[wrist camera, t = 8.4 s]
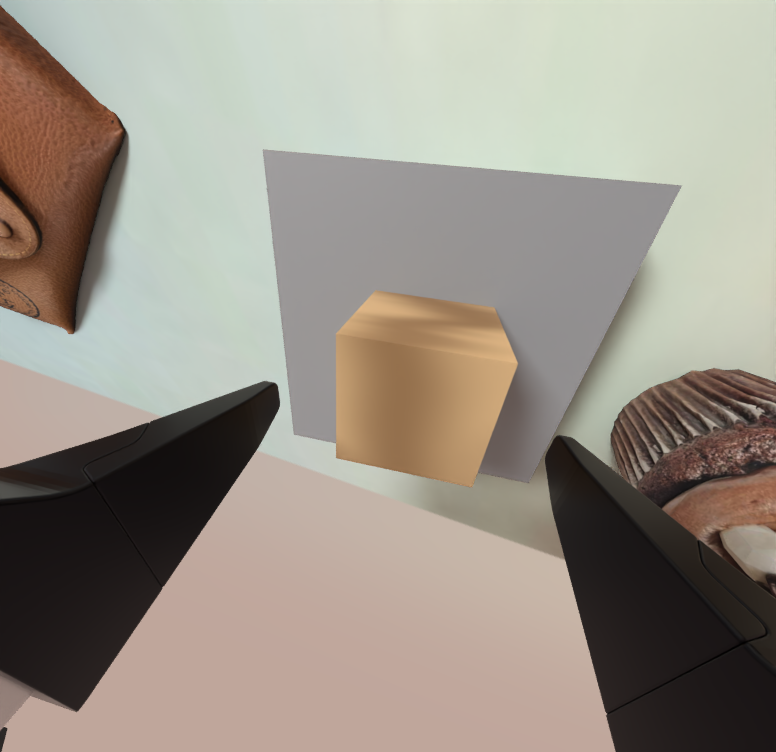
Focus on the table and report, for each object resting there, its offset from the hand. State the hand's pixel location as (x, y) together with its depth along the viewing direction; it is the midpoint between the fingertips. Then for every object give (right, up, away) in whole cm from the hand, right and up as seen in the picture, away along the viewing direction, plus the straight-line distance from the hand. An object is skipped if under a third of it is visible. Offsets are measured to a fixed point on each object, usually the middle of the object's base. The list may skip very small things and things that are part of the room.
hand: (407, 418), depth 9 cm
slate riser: (+2, +5, +8) cm, 9 cm away
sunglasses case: (-22, +12, +9) cm, 27 cm away
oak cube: (+1, +3, +4) cm, 5 cm away
